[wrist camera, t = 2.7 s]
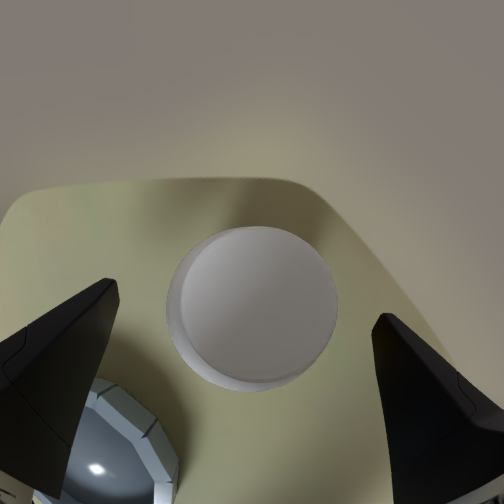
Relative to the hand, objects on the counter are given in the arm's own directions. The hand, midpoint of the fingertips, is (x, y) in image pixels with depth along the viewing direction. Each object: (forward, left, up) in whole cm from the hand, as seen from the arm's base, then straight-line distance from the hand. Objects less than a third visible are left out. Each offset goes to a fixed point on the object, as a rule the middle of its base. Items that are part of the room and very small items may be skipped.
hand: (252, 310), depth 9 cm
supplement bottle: (0, 0, -8) cm, 8 cm away
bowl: (-6, +13, -8) cm, 16 cm away
